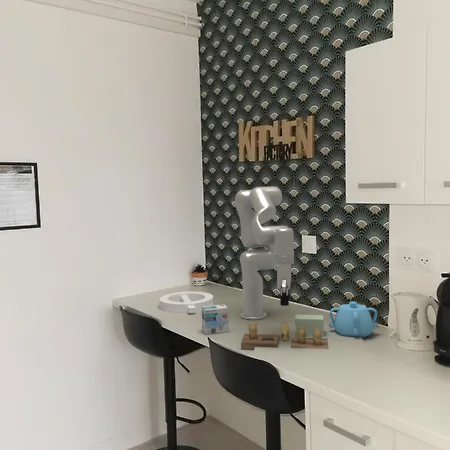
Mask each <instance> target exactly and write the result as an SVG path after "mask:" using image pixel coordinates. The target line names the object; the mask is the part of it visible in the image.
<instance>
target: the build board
mask: <svg viewBox="0 0 450 450" xmlns="http://www.w3.org/2000/svg"><path fill="white" fill-rule="evenodd" d="M279 340H280V334H278V333H258V324H257V323H256V322H250V323H248V332H247V333H245V332H244V334H243V336H242V339H241V342H240V350H243V351H244V350H248V351H251V350H252V351H254V350H255V348H277V349H278V346H279Z"/></svg>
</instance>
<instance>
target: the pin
mask: <svg viewBox="0 0 450 450" xmlns="http://www.w3.org/2000/svg"><path fill="white" fill-rule="evenodd" d="M280 341H281V342H289V341H290V322H287V321H282V322H280Z"/></svg>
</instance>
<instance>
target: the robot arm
mask: <svg viewBox="0 0 450 450" xmlns="http://www.w3.org/2000/svg"><path fill="white" fill-rule="evenodd" d="M234 199H235V200H234V202H235V203H234V204H235V208H236V211H237V214H238V218H239V223H240V234H241V235H240V237H241V242H242V246H243V247H245V248H264V249H251V250H245V251H243V252H242V253H241V254H240V256H239V262H240V263H239V264H240V268H241V274H242V276H241V277H242V304H243V306H242V307H243V308H242V309H243V312H241V313H240V315H239V317H240V318H242V319H244V320H250V321H251V320H254V321H255V320H262V319H265V318H266V317H267V316H268V314H267V312H265V311H264V285H263V283H264V281H263V278H262V276H261V275H260V273H259V272H258V271H264V270H274V268H276V279H277V281H276V283H277V284H276V285H277V287H276V289H277V290H279V291H280V296H279V298H280V299H279V300H280V306H281V307H283V306H284V307H285V306H286V307H288V306H290V296H291V295H290V289H291V283H292V282H291V281H292V265H293V264H295V251H294V248H295V247H294V246H295V245H294V244H295V243H294V240H295V239H294V230H293V228H291V227H288V226H287V225H266V226H262V225H263V224H265V223H267V222H269V221H271V220H272V219H273V218H274V217H275V215H276V213H277V206H279V205H280V204H282V201H283V193H282V191H281V189H280V188H279V187H278V186H275V185H274V186H256V187H254V188H252V189H245V190H241V191H238V192H236V194H235V197H234ZM276 266H277V267H276Z"/></svg>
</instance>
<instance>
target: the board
mask: <svg viewBox="0 0 450 450" xmlns="http://www.w3.org/2000/svg"><path fill="white" fill-rule="evenodd" d="M290 349H315V350H316V349H318V350H319V349H320V350H321V349H322V350H328V349H330V348H329V342H328V338H324V337H323V336H322V330H321V329H313V336H312V337H307V336H306V328H304V327H298V328H297V336H296V337H291V339H290Z"/></svg>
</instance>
